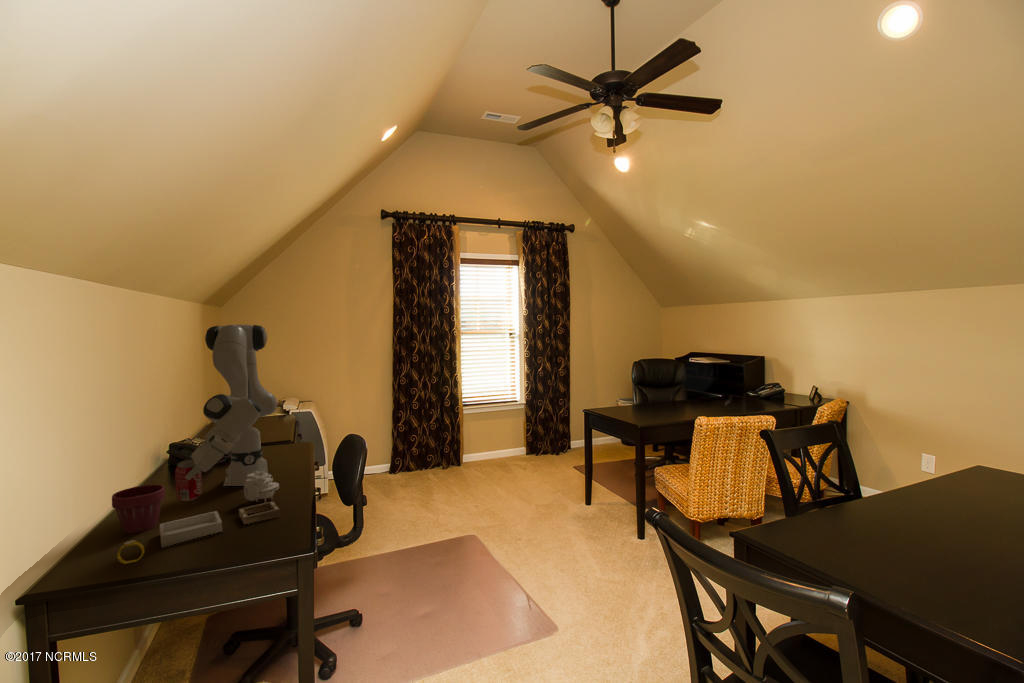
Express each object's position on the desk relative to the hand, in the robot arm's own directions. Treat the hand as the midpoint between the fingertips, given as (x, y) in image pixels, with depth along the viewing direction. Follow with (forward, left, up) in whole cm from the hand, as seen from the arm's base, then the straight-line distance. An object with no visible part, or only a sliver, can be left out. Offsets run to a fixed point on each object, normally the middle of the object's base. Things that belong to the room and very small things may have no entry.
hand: (185, 476), depth 152 cm
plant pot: (-18, -12, -19) cm, 29 cm away
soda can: (-2, +1, -8) cm, 8 cm away
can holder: (0, +21, -19) cm, 28 cm away
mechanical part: (-17, +25, -19) cm, 36 cm away
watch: (+12, -14, -19) cm, 27 cm away
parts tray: (0, +1, -19) cm, 19 cm away
